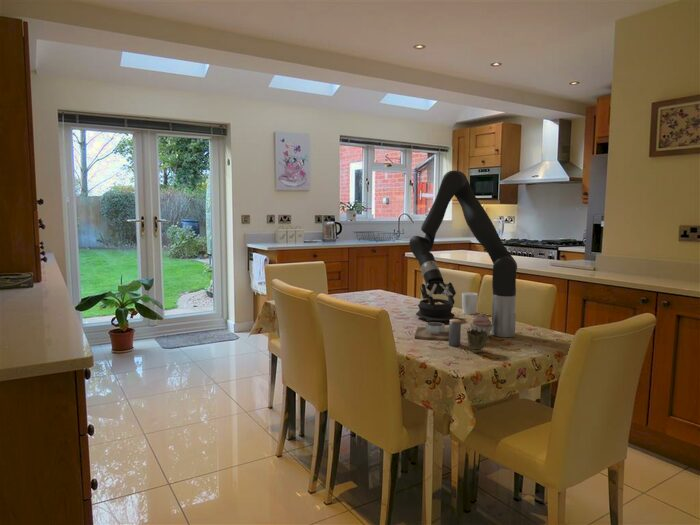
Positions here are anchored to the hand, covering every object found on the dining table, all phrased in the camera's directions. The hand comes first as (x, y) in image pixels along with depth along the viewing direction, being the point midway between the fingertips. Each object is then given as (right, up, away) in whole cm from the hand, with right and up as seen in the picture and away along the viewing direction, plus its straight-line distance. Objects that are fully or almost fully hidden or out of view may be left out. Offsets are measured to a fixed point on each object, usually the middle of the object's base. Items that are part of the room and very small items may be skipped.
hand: (443, 305), depth 198 cm
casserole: (+3, -10, +37) cm, 39 cm away
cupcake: (+17, -14, +5) cm, 22 cm away
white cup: (+23, -9, +49) cm, 55 cm away
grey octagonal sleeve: (-2, -12, +7) cm, 14 cm away
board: (-2, -13, +7) cm, 15 cm away
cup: (+9, -16, -18) cm, 26 cm away
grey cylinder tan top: (+3, -15, -8) cm, 17 cm away
